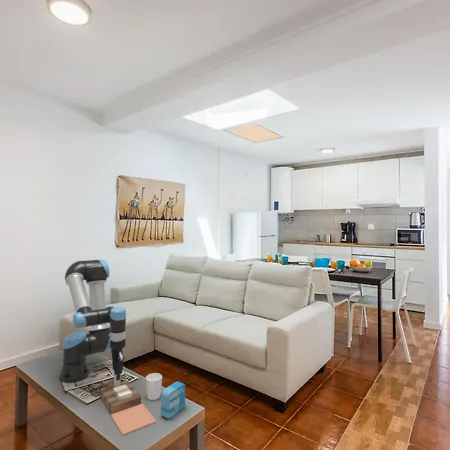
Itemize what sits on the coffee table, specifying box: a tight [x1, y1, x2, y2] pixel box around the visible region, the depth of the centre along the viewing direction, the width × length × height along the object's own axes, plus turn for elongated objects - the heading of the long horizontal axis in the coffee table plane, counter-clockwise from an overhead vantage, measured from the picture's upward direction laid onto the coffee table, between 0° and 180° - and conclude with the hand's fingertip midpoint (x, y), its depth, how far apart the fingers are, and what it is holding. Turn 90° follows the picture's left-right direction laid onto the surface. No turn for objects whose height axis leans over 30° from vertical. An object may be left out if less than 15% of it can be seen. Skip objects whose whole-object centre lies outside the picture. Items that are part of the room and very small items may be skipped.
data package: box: [160, 381, 186, 420], centre depth 150 cm, size 12×4×12 cm, turn 147°
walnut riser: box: [99, 380, 142, 415], centre depth 158 cm, size 18×14×4 cm
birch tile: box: [113, 384, 132, 402], centre depth 155 cm, size 9×6×2 cm, turn 37°
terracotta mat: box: [110, 403, 157, 436], centre depth 144 cm, size 16×15×1 cm
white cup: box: [145, 372, 163, 401], centre depth 162 cm, size 8×8×10 cm
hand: (117, 385), depth 162 cm, fingers closed
